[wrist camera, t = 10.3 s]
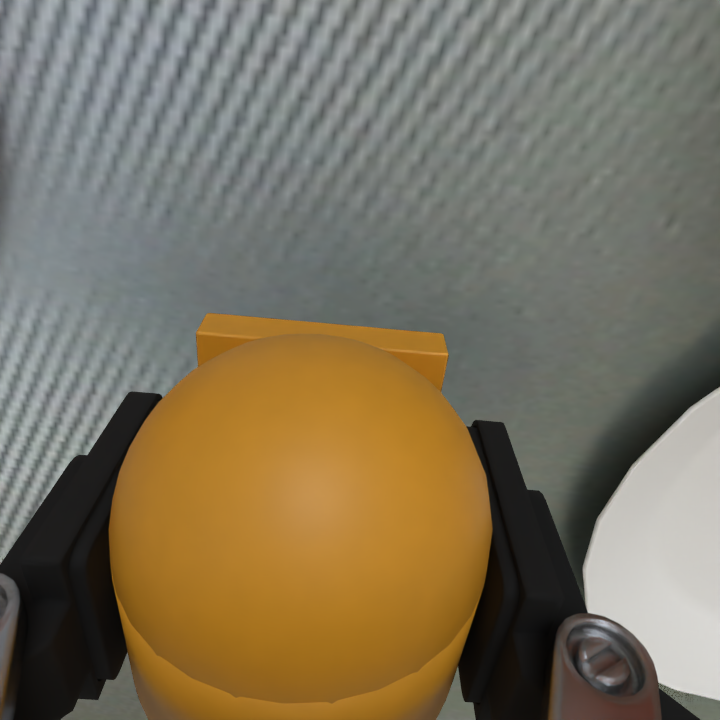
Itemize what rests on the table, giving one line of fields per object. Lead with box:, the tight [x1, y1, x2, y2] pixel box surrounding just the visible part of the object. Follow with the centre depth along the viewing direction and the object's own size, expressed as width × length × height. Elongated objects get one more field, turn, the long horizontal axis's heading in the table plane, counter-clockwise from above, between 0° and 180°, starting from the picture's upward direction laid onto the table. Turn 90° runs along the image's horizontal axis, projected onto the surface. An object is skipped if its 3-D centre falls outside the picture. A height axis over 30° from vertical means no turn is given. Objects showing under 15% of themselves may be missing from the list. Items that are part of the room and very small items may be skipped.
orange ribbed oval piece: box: [109, 313, 493, 720], centre depth 9 cm, size 8×6×6 cm
